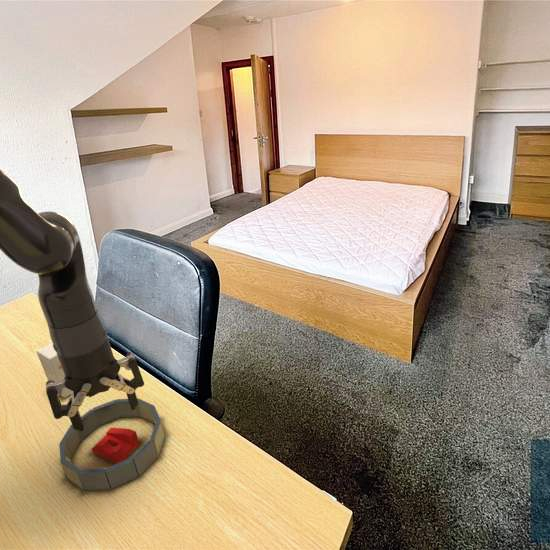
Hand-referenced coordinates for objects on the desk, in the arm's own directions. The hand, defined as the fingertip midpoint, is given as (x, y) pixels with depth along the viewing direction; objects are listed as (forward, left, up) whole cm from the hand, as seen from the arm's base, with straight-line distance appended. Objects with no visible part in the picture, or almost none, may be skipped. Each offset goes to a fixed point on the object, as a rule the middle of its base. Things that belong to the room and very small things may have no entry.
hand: (107, 417), depth 71 cm
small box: (-5, +24, -8) cm, 26 cm away
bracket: (0, 0, -8) cm, 8 cm away
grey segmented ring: (0, 0, -7) cm, 7 cm away
